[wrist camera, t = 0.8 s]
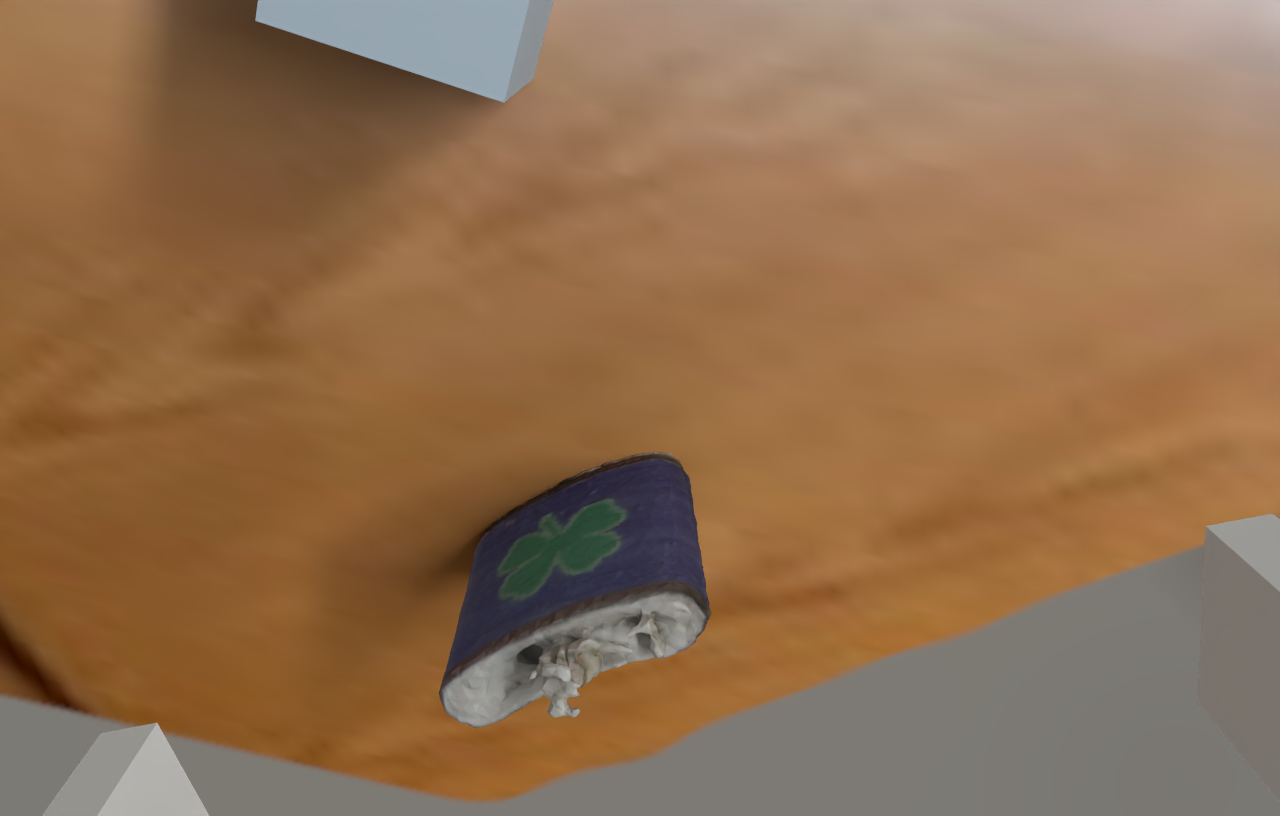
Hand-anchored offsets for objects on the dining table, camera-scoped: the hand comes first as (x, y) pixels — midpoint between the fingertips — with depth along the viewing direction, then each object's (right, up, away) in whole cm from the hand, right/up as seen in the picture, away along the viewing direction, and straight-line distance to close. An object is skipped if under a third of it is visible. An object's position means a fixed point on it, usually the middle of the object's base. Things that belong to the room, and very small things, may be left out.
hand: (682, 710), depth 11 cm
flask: (-3, 0, +25) cm, 25 cm away
